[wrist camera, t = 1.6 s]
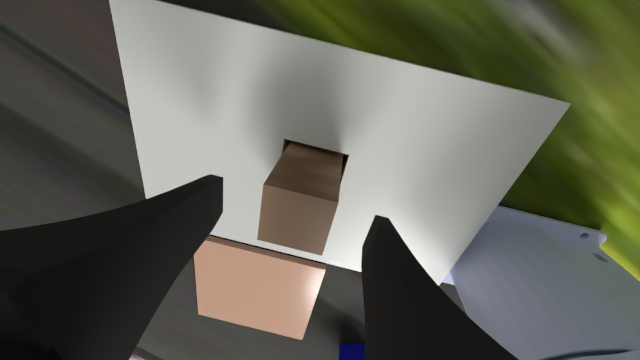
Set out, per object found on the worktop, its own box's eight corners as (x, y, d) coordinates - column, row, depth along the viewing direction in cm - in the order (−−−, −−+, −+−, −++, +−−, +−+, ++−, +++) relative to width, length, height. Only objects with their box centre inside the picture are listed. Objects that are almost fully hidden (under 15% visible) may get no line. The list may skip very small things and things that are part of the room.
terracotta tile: (326, 264, 22) (325, 270, 21) (303, 334, 28) (302, 340, 27) (196, 232, 22) (192, 237, 21) (201, 309, 28) (198, 314, 27)
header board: (536, 93, 13) (571, 103, 11) (427, 264, 20) (435, 290, 18) (146, -3, 13) (106, -12, 11) (171, 200, 20) (150, 219, 18)
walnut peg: (344, 142, 16) (338, 202, 10) (333, 182, 18) (322, 255, 12) (297, 130, 16) (263, 184, 10) (290, 172, 18) (257, 239, 12)
